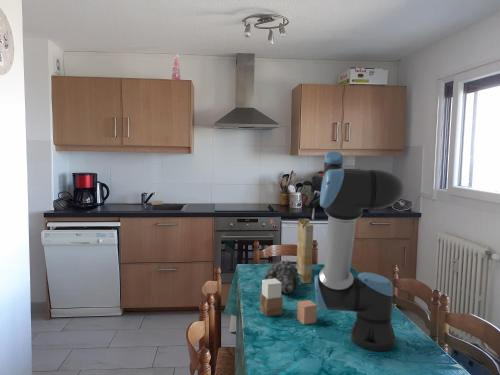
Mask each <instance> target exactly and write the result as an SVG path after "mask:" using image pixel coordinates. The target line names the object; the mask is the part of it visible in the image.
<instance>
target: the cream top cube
mask: <svg viewBox="0 0 500 375" xmlns="http://www.w3.org/2000/svg"><path fill="white" fill-rule="evenodd" d="M261 282H262V284H261V293H262V294H263V295H264V296H265V297H266V298H267V299H272V298H280V297H282V291H281V286H282V283H281V282H280V281H278V280H277V279H266V278H265V279H262V281H261Z"/></svg>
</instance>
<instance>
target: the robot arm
mask: <svg viewBox="0 0 500 375" xmlns="http://www.w3.org/2000/svg"><path fill="white" fill-rule="evenodd" d="M323 162H324V164H323V174H322V182H321V187H320V191H319V190H318V189H315V190H314V192H313V194H312V195H311V196H310V199H308V201H307V202H306V209H309V214H311V220H315V208H316V207H317V206H318V205H320V207H321V208H323V210H324V212H325V214H326V215H327V216H328V218H327V231H326V242H325V253H324V254H325V255H324V265H323V268H322V269H321V270H320V271H319V274H317V275H314V290H315V299H316V300H315V302H316V303H315V304H316V305H317V308H318V309H321V310H326V311H342V312H355V313H356V318H355V320H354V322H353V326H352V327H351V330H350V340H351V342H352V343H353V344H354V345H356V346H358V347H360V348H362V349H365V350H369V351H372V352H373V351H374V352H389V351H391V350H393V349H394V348H395V347H396V341H397V340H396V336H395V331H394V328H393V327H394V326H393V324H392V313H393V312H392V311H393V310H392V309H393V297H394V286H393V282H392V281H391V280H390V279H388V278H387V277H385V276H383V275H380V274H377V273H373V272H360V273H358V275H357V277H354V275H353V274H352V272H351V266H352V265H351V264H352V258H353V250H354V241H355V234H356V233H355V232H356V226H357V220H358V219H360V218H361V216H363V213H364V210H379V209H380V210H381V209H386V208H388V207H391V206H393V205H395V204H396V203H398V202H399V201H400V200H401V198H402V196H403V194H404V183H403V181H402V180H401V178H399V176H397V175H396V174H394V173H392V172H389V171H384V170H381V169H380V170H379V169H350V168H349V169H345V168H343V163H344V155H343V154H342V153H341V152H339V151H336V150H335V151H334V150H331V151H328V152H326V153H325V156H324V160H323ZM317 197H318V198H317Z"/></svg>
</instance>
